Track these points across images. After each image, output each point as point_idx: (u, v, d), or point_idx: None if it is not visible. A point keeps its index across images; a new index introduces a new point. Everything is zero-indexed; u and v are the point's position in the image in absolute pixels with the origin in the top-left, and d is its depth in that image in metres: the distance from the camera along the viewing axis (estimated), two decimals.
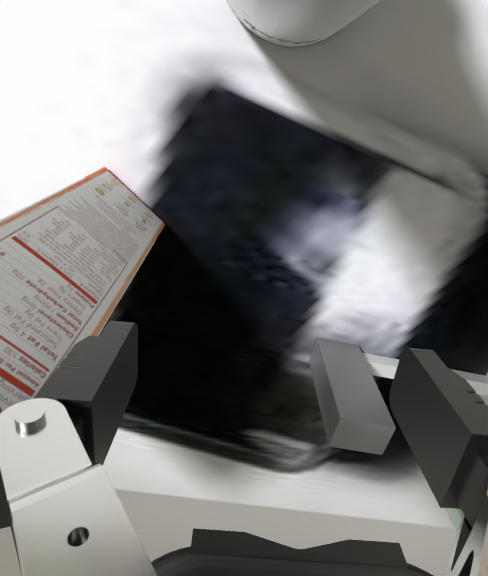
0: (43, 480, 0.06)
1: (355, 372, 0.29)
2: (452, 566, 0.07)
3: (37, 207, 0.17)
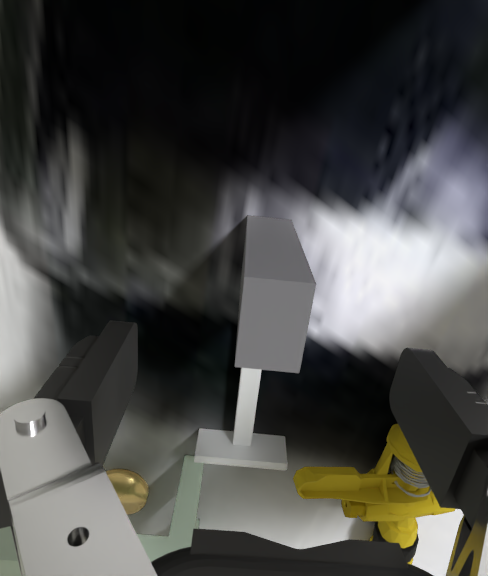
0: (43, 480, 0.06)
1: None
2: (452, 566, 0.07)
3: None
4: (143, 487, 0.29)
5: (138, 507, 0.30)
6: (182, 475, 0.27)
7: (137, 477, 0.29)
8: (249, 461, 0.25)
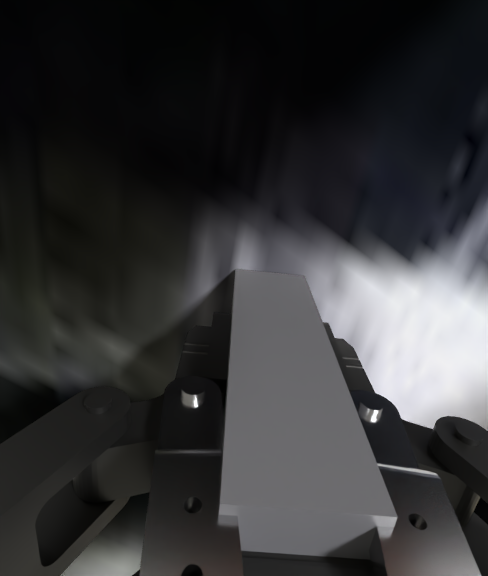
0: (186, 446, 0.07)
1: None
2: None
3: None
4: None
5: None
6: None
7: None
8: None
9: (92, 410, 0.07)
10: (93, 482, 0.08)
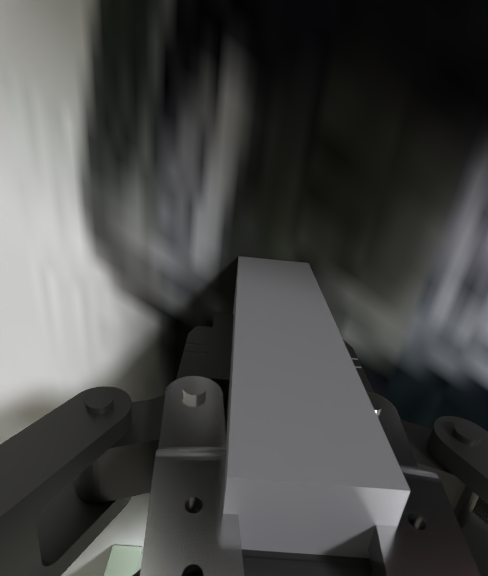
0: (187, 446, 0.07)
1: None
2: None
3: None
4: None
5: None
6: None
7: None
8: None
9: (93, 410, 0.07)
10: (94, 482, 0.08)
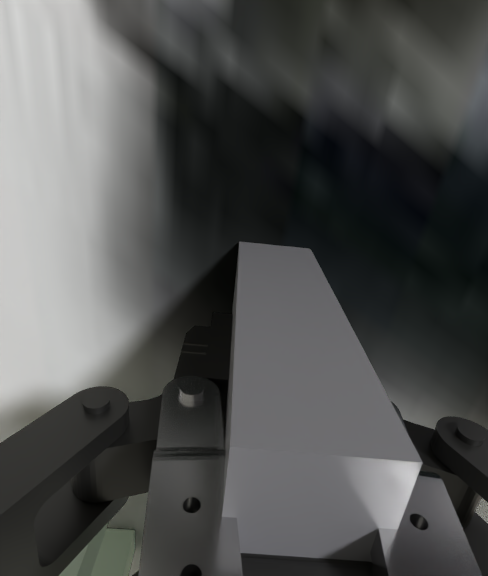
0: (184, 446, 0.07)
1: None
2: None
3: None
4: None
5: None
6: None
7: None
8: None
9: (90, 410, 0.07)
10: (92, 482, 0.08)
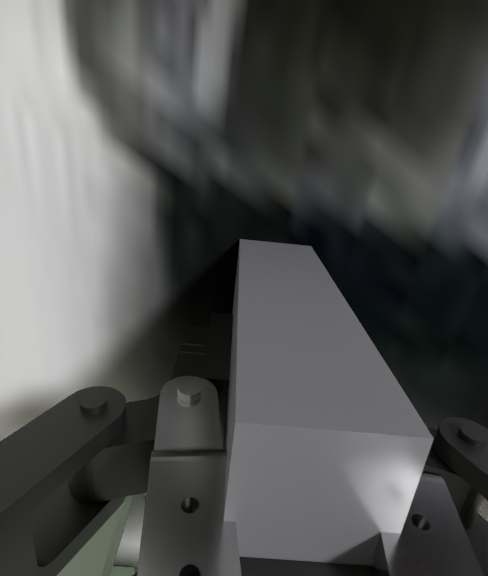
0: (182, 446, 0.07)
1: None
2: None
3: None
4: None
5: None
6: None
7: None
8: None
9: (87, 410, 0.07)
10: (89, 482, 0.08)
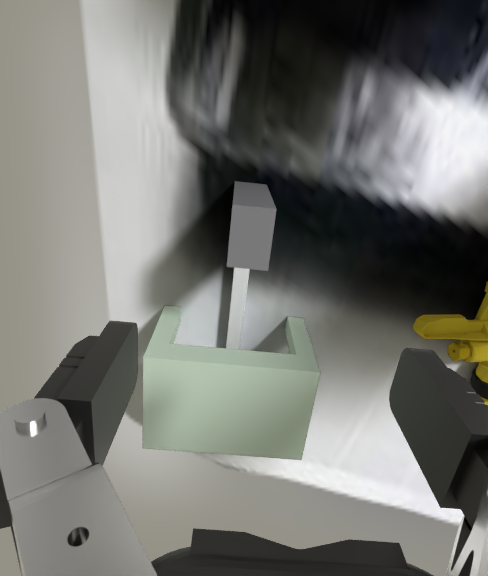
0: (43, 480, 0.06)
1: None
2: (452, 566, 0.07)
3: None
4: None
5: None
6: (291, 326, 0.32)
7: None
8: None
9: None
10: None
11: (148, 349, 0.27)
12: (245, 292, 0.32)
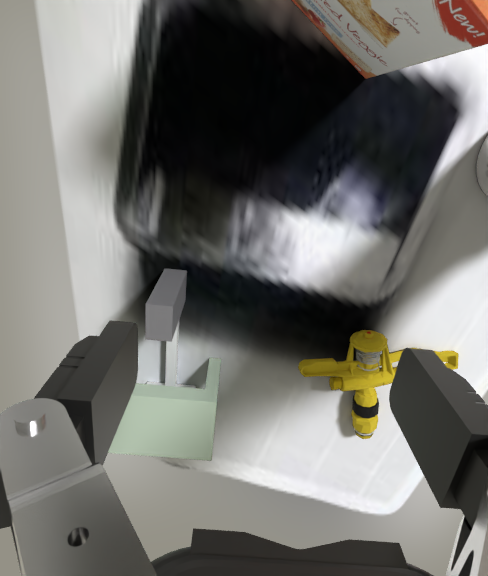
0: (43, 480, 0.06)
1: (180, 304, 0.40)
2: (452, 566, 0.07)
3: None
4: None
5: None
6: (209, 366, 0.46)
7: None
8: None
9: None
10: None
11: None
12: (176, 342, 0.45)
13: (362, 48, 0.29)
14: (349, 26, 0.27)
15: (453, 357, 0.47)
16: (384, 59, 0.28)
